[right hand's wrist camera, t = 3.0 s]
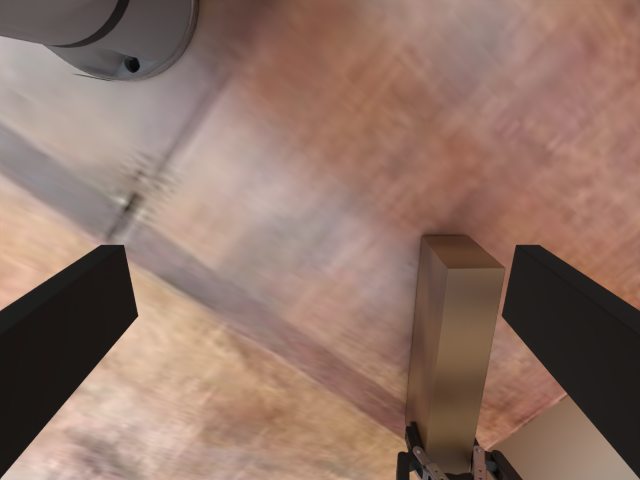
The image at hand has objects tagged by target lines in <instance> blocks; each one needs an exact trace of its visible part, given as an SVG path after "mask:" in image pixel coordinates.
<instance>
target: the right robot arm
mask: <svg viewBox="0 0 640 480" xmlns="http://www.w3.org/2000/svg"><path fill="white" fill-rule="evenodd" d="M198 1H199V0H0V36H3V37H8V38H13V39H18V40H23V41H28V42H33V43H39V44H43V45H44V46H46V47H47V48H48V49H50V50H51V51H52V52H54V53H55V54H56V55H58V56H59V57H61V58H62V59H63V60H65V61H66V62H68V63H69V64H71V65H73V66H74V67H76V68H78V69H80V70H82V71H84V72H86V73H89V74H91V75H94V76H97V77H101V78H106V79H112V80H122V81H135V80H142V79H146V78H150V77H152V76H155V75H157V74H159V73H161V72H163V71H164V70H166V69H167V68H169V67H170V66H171V65H172V64H173V63H175V62H176V60H177V59H178V58H179V57H180V56H181V55H182V53H183V52H184V51H185V49H186V47H187V45H188V44H189V42H190V39H191V37H192V35H193V32H194V29H195V25H196V20H197V14H198ZM75 75H79V74H75ZM80 76H85V75H80ZM86 77H90V76H86ZM91 78H95V77H91ZM101 78H96V79H101ZM106 79H101V80H106ZM107 81H111V80H107ZM137 317H138V312H137V307H136V302H135V297H134V292H133V287H132V283H131V278H130V273H129V268H128V263H127V258H126V253H125V248H124V245H100V246H99V247H97V248H96V249H94V250H92V251H91V252H89V253H88V254H86V255H85V256H83V257H82V258H80V259H79V260H77V261H76V262H74V263H73V264H71V265H70V266H68V267H67V268H65V269H63V270H62V271H60V272H59V273H57V274H56V275H54V276H53V277H51V278H50V279H48V280H47V281H45V282H44V283H42V284H41V285H39V286H38V287H36V288H34V289H33V290H31V291H30V292H28V293H27V294H25V295H24V296H22V297H21V298H19V299H18V300H16V301H15V302H13V303H12V304H10V305H9V306H7V307H5V308H4V309H2V310H1V311H0V479H1V477H2V476H3V475H4V474H5V473H6V472H7V470H8V469H9V468H10V467H11V466H12V464H13V463H14V462H15V461H16V460H17V459H18V457H19V456H20V455H21V454H22V453H23V452H24V450H25V449H26V448H27V447H28V446H29V444H30V443H31V442H32V441H33V440H34V439H35V437H36V436H37V435H38V434H39V433H40V431H41V430H42V429H43V428H44V427H45V426H46V424H47V423H48V422H49V421H50V420H51V418H52V417H53V416H54V415H55V414H56V413H57V411H58V410H59V409H60V408H61V407H62V405H63V404H64V403H65V402H66V401H67V400H68V398H69V397H70V396H71V395H72V394H73V392H74V391H75V390H76V389H77V388H78V387H79V385H80V384H81V383H82V382H83V381H84V379H85V378H86V377H87V376H88V375H89V374H90V372H91V371H92V370H93V369H94V368H95V366H96V365H97V364H98V363H99V362H100V361H101V359H102V358H103V357H104V356H105V355H106V353H107V352H108V351H109V350H110V349H111V348H112V346H113V345H114V344H115V343H116V342H117V341H118V339H119V338H120V337H121V336H122V335H123V333H124V332H125V331H126V330H127V329H128V328H129V326H130V325H131V324H132V323H133V322H134V320H135V319H136V318H137ZM502 317H503V318H504V319H505V320H506V322H507V323H508V324H509V325H510V326H511V328H512V329H513V330H514V331H515V332H516V333H517V335H518V336H519V337H520V338H521V339H522V341H523V342H524V343H525V344H526V345H527V346H528V348H529V349H530V350H531V351H532V352H533V354H534V355H535V356H536V357H537V358H538V359H539V361H540V362H541V363H542V364H543V365H544V366H545V368H546V369H547V370H548V371H549V372H550V374H551V375H552V376H553V377H554V378H555V379H556V381H557V382H558V383H559V384H560V385H561V387H562V388H563V389H564V390H565V391H566V392H567V394H568V395H569V396H570V397H571V398H572V400H573V401H574V402H575V403H576V404H577V405H578V407H579V408H580V409H581V410H582V411H583V412H584V414H585V415H586V416H587V417H588V418H589V420H590V421H591V422H592V423H593V424H594V425H595V427H596V428H597V429H598V430H599V431H600V433H601V434H602V435H603V436H604V437H605V438H606V440H607V441H608V442H609V443H610V444H611V446H612V447H613V448H614V449H615V450H616V452H617V453H618V454H619V455H620V456H621V457H622V459H623V460H624V461H625V462H626V463H627V464H628V466H629V467H630V468H631V469H632V470H633V472H634V473H635V474H636V475H637V476H638V477H639V479H640V311H639V310H638V309H636V308H635V307H633V306H631V305H630V304H628V303H627V302H625V301H624V300H622V299H621V298H619V297H618V296H616V295H615V294H613V293H612V292H610V291H609V290H607V289H606V288H604V287H602V286H601V285H599V284H598V283H596V282H595V281H593V280H592V279H590V278H589V277H587V276H586V275H584V274H583V273H581V272H580V271H578V270H577V269H575V268H573V267H572V266H570V265H569V264H567V263H566V262H564V261H563V260H561V259H560V258H558V257H557V256H555V255H554V254H552V253H551V252H549V251H548V250H546V249H544V248H543V247H541V246H540V245H516V248H515V253H514V258H513V263H512V268H511V273H510V278H509V283H508V287H507V292H506V297H505V302H504V307H503V312H502Z"/></svg>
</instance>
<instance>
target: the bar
mask: <svg viewBox="0 0 640 480" xmlns="http://www.w3.org/2000/svg"><path fill="white" fill-rule="evenodd" d="M505 269H506V268H505V267H504V266H502V265H501V264H500V263H499V262H498V261H497V260H496V259H494V258H493V257H492V256H491V255H490V254H489V253H487V252H486V251H485V250H484V249H483V248H482V247H480V246H479V245H478V244H477V243H476V242H475V241H474V240H472V239H471V238H470V237H469V236H422V242H421V252H420V263H419V274H418V285H417V296H416V307H415V317H414V328H413V339H412V350H411V361H410V371H409V382H408V393H407V404H406V415H405V423H406V426H409V422H410V421H415V422H416V424H417V428H418V431H419V434H420V437H421V440H422V444H423V450H424V451H425V453H426V454H427V455H428V457H429V458H430V459H431V461H435V462H436V463H437V464H438V466H439V467H440V468H441V470H442V471H443V472H444V473H451V474H456V475H458V474H461V473H469V467H470V462H471V456H472V451H473V445H474V440H475V434H476V429H477V423H478V418H479V412H480V407H481V401H482V396H483V390H484V385H485V379H486V374H487V368H488V363H489V357H490V352H491V346H492V341H493V335H494V330H495V324H496V319H497V313H498V308H499V302H500V297H501V291H502V286H503V280H504V275H505Z"/></svg>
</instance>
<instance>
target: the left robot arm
mask: <svg viewBox="0 0 640 480" xmlns="http://www.w3.org/2000/svg"><path fill="white" fill-rule="evenodd" d="M405 441H406V444H407V448H408V452H407V453H406V452H399V453H398V459H397V471H396V480H410V479H409V472H411V471H414V472H415V474H416V475H417V477H418V478H419V479H420V480H487V471H486V470H488V471H489V472H490V474H491V475H492V477H493V478H494V479H495V480H522V478H521V477H520V476H519V475H518V473H517V472H516V471H515V469H514V468H513V467H512V466H511V464H510V463H509V462H508V461H507V459H506V458H505V457H504V455H503V454H502V453H501V452H500V451H498V450H493V451H492V453H491V452H487V451H485V450H484V449H483V448H482V447H481V446H479V444H478V442H477V440H476V437H475V440H474V445H473V451H472V456H471V462H470V473H461V474H458V475H456V474H451V473H444V472H443V471H442V470H441V468H440V467H439V466H438V464H437V463H436V462H435V461H431V459H430V458H429V457H428V455H427V454H426V453H425V451H424V450H423V444H422V440H421V437H420V434H419V431H418V428H417V424H416V422H415V421H410V422H409V426H406V432H405Z"/></svg>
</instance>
